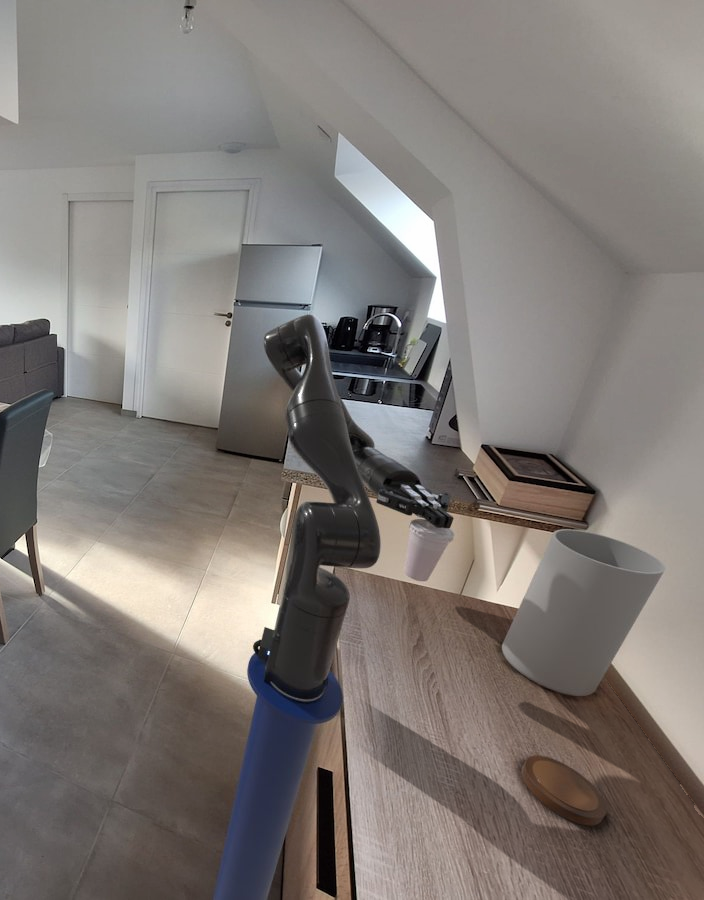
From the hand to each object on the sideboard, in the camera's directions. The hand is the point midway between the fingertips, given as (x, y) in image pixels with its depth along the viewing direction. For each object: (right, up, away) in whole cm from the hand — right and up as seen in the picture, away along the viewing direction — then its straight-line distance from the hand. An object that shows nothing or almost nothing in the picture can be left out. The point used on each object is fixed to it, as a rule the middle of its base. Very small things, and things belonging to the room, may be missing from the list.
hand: (445, 523), depth 73 cm
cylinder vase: (+24, -28, +8) cm, 37 cm away
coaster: (+6, -34, -13) cm, 37 cm away
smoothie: (0, -11, +7) cm, 13 cm away
